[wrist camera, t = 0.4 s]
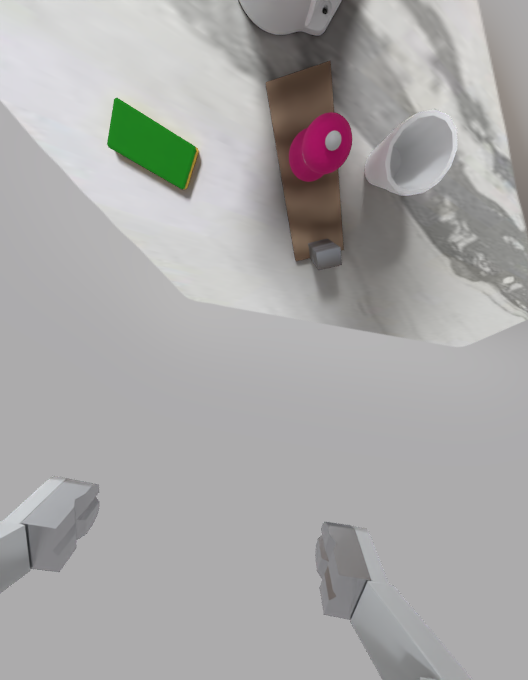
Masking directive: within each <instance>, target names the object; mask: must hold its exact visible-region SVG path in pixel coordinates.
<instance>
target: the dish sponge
mask: <svg viewBox="0 0 528 680" xmlns="http://www.w3.org/2000/svg"><path fill="white" fill-rule="evenodd" d="M107 144H108V146H109V148H111V149H113V150H114V151H116V152H118V153H120V154H121V155H123V156H125V157H127V158H128V159H130V160H132V161H134V162H135V163H137V164H139V165H141V166H142V167H144V168H146V169H147V170H149V171H151V172H153V173H154V174H156V175H158V176H160V177H161V178H163V179H165V180H167V181H168V182H170V183H172V184H174V185H175V186H177V187H179V188H180V189H187V187H188V184H189V181H190V178H191V175H192V171H193V168H194V165H195V162H196V159H197V156H198V152H199V151H198V148H196V147H195V146H193V145H192V144H190V143H189V142H187V141H185V140H184V139H182V138H181V137H179V136H177V135H176V134H174V133H173V132H171V131H169V130H168V129H166V128H165V127H163V126H161V125H160V124H158V123H157V122H155V121H153V120H152V119H150V118H149V117H147V116H145V115H144V114H142V113H141V112H139V111H137V110H136V109H134V108H133V107H131V106H129V105H128V104H126V103H125V102H123V101H121V100H120V99H118V98H115V99H114V104H113V111H112V117H111V123H110V130H109V136H108V142H107Z"/></svg>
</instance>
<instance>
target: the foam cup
mask: <svg viewBox="0 0 528 680" xmlns="http://www.w3.org/2000/svg"><path fill="white" fill-rule="evenodd" d="M457 148H458V146H457V128H456V126H455V124H454V123H453V121H452V119H451V117H450V115H448V114H446V113H443V112H441V111H439V110H436V109H432V110H428V111H423V112H419V113H416V114H414V115H413V116H411V117H409V118H408V119H406V120H405V121H404V122H402V123H401V124H400V125H399V126H397V127H396V128H395V129H393V131H392V132H391V134H390V135H389V136H388V137H387V138H386V139H385V140H384V141H382V142H381V143H380V144H379V145H378V146H377V147H376V148H375V149H374V150H373V151H372V152H371V153H370V155H369V157H368V158H367V160H366V164H365V169H364V170H365V176H366V179H367V180H368V181H369V183H370V184H372V185H374V186H377V187H380V188H383V189H387V190H388V191H389V192H392V193H395V194H398V195H400V196H409V195H414V194H420V193H424V192H425V191H427V190H428V189H430V188H431V187H433V186H434V185H436V184H437V183H439V181H440V180H441V179H442V178H443V176H444V175H445V174H446V172H447V171H448V170H449V169H450V167H451V165H452V162H453V159H454V156H455V154H456V151H457Z"/></svg>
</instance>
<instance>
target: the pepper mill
mask: <svg viewBox="0 0 528 680" xmlns="http://www.w3.org/2000/svg"><path fill="white" fill-rule="evenodd" d="M351 145H352V133H351V128H350V125H349V123H348V122H347V120H346V119H345V118H344V117H343V116H341V115H340V114H338V113H333V112H330V113H325V114H322V115H320V116H318V117H317V118H316V119H315V120H313V122H312V123H311V124H310V125H309V127H308V128H306V129H304V130H302V131H301V132H299V133H298V134H297V135H296V137H295V138H294V140H293V142H292V144H291V146H290V150H289V164H290V167H291V170H292V172H293V173H294V175H295V176H296V177H297V178H298V179H300V180H302V181H306V182H311V181H315V180H317V179H319V178H321V177H322V176H323V175H324V174H329V173H332V172H334V171H335V170H337V169H338V168H339V167H340V166H341V165H342V164H343V163H344V162H345V160H346V159H347V157H348V155H349V153H350V150H351Z"/></svg>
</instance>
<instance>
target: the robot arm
mask: <svg viewBox="0 0 528 680" xmlns="http://www.w3.org/2000/svg"><path fill="white" fill-rule="evenodd" d="M239 1H240V4H241V5H242V7H243V9H244V11H245V12H246V14H247V15H248V17H249V18H250V19H251V20H252V21H253V22H254V23H255V24H256V25H257V26H258V27H260V28H261V29H263V30H264V31H266V32H269V33H272V34H276V35H285V34H290V33H294V32H299V31H303V32H305V33H308V34H311V35H315V36H319V35H321V34H323V33H324V31H325V30H326V28H327V26H328V25H329V23H330V21H331V19H332V17H333V16H334V14H335V12H336V10H337V8H338V7H339V5H340V3H341V1H342V0H239ZM324 8H325V9H327V14H323V12H322V10H323V9H324ZM98 493H99V485H98V484H93V483H88V482H83V481H78V480H73V479H68V478H63V477H57V476H54V477H51V478H50V479H48V480H47V481H46V482H45V483H43V484H42V485H41V486H40V487H39V488H38V489H37V490H36V491H35V492H34V493H33V494H32V495H30V496H29V497H28V498H27V499H26V500H25V501H24V502H23V503H22V504H21V505H19V506H18V508H16V509H15V510H14V511H13V512H12V513H11V514H10V515H9V516H8V517H6V518H5V519H4V521H0V593H1V592H3V591H4V590H5V589H7V588H8V587H9V586H11V585H12V584H13V583H15V582H16V581H17V580H19V579H20V578H21V577H23V576H24V575H25V574H27V573H28V572H29V571H30V569H37V570H45V571H54V572H60V570H61V569H62V568H63V566H64V565H65V563H66V562H67V561H68V559H69V558H70V556H71V555H72V553H73V552H74V551H75V549H76V542H77V540H78V539H79V538H81V537H82V536H84V535H85V534H87V532H88V531H89V529H90V528H91V526H92V525H93V523H94V521H95V519H96V517H97V514H98V511H99V501H98V499H97V498H96V495H97V494H98ZM321 531H322V536H321V537H319V538H318V541H317V544H316V566H317V572H318V573H319V575H320V576H321V578H322V583H321V586H320V593H321V599H322V605H323V611H324V615H329V616H334V617H339V618H344V619H349V620H351V621H350V622H351V624H352V626H353V628H354V629H355V631H356V633H357V635H358V637H359V638H360V640H361V642H362V644H363V646H364V647H365V649H366V651H367V653H368V655H369V656H370V658H371V660H372V662H373V664H374V665H375V667H376V669H377V671H378V672H379V674H380V676H381V678H382V679H383V680H473V679H472V678H471V677H470V675H469V674H468V673H467V672H466V671H465V670H464V668H463V667H462V666H461V665H460V664H459V662H458V661H457V660H456V659H455V658H454V656H452V654H451V653H450V652H449V651H448V649H447V648H446V647H445V646H444V645H443V643H442V642H441V641H440V640H439V639H438V637H437V636H436V635H435V634H434V633H433V631H432V630H431V629H430V628H429V627H428V626H427V624H426V623H425V622H424V621H423V620H422V618H421V617H420V616H419V615H418V614H417V612H416V611H415V610H414V609H413V608H412V607H411V605H410V604H409V603H408V602H407V601H406V599H405V598H404V597H403V596H402V595H401V593H399V591H398V590H397V589H396V588H395V586H394V585H391V584H389V583H388V580H387V578H386V575H385V573H384V570H383V567H382V565H381V562H380V559H379V557H378V554H377V552H376V549H375V547H374V544H373V541H372V538H371V536H370V533H369V531H368V530H367V529H366V528H360V527H354V526H350V525H344V524H337V523H330V522H324V523H323V525H322V528H321Z"/></svg>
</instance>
